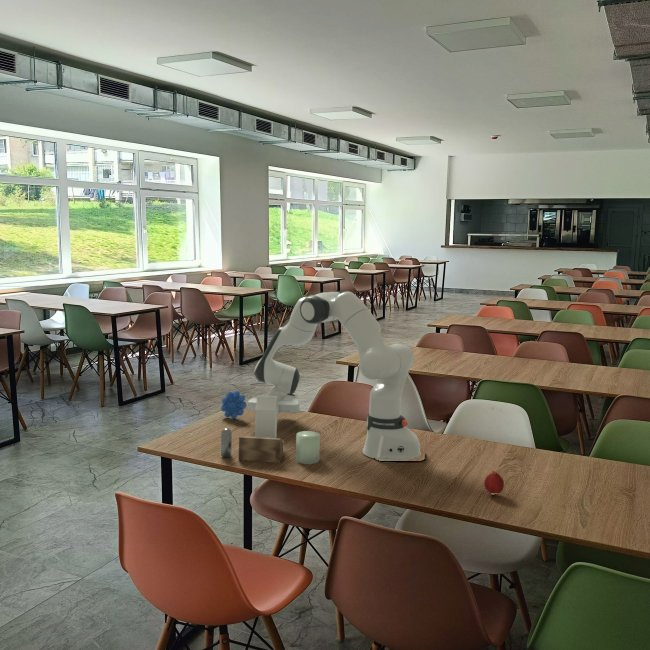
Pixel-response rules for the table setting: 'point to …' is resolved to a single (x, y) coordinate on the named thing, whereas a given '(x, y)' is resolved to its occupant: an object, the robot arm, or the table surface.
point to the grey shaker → (226, 443)
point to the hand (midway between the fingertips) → (271, 411)
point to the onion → (494, 483)
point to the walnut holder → (260, 449)
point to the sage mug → (307, 447)
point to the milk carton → (266, 417)
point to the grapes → (233, 404)
